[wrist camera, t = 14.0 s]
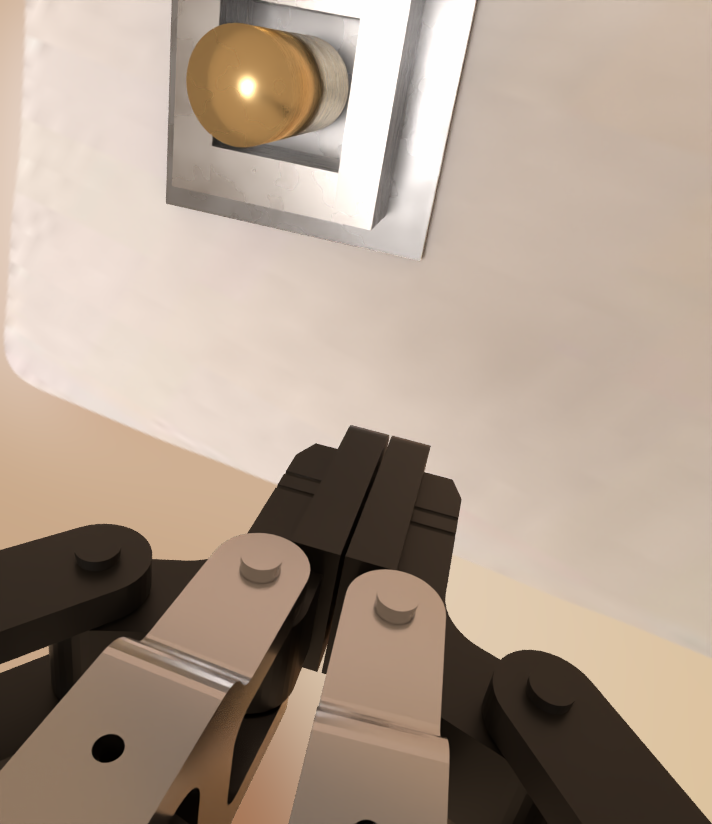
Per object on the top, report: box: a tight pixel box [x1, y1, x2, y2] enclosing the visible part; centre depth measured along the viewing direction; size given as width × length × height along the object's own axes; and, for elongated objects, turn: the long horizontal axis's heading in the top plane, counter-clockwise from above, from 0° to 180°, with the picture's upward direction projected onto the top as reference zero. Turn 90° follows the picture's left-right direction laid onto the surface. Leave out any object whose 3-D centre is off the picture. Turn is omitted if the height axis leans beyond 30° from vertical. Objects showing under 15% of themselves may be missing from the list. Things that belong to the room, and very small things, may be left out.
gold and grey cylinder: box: [186, 23, 349, 147], centre depth 30 cm, size 4×4×9 cm
